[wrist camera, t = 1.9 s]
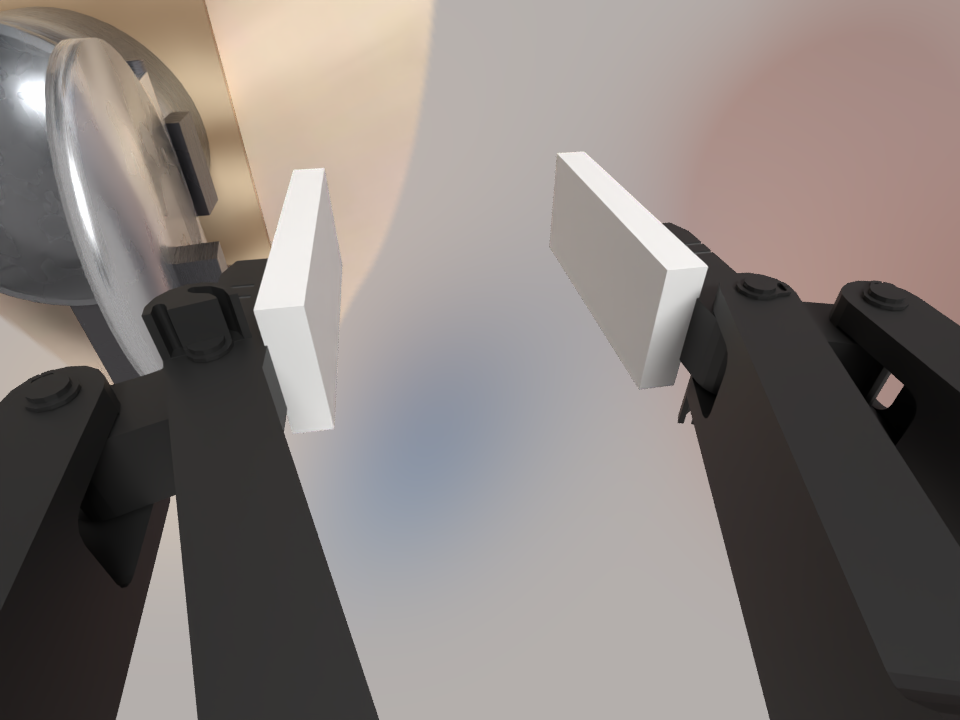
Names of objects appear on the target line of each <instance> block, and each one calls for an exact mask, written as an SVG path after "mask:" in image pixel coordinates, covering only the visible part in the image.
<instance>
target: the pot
mask: <svg viewBox="0 0 960 720" xmlns="http://www.w3.org/2000/svg"><path fill="white" fill-rule="evenodd" d="M73 38H98V39H102V40H104V41H105V42H107V43H108V44H110V45H111V46H112V47H113V48H114V49H115V50H116V51H117V52H118V53H119V54H120V55H121V56H122V57H123V59H124V60H127V59H143V61H144V63H145V66H146V69H147V72H148V75H149V78H150V81H151V84H152V86H153V89H154V92H155V95H156V98H157V101H158V104H159V106H160V109H161V112H162V115H163V118H164V121H165V124H166V126H167V129H168V132H169V135H170V138H171V141H172V144H173V146H174V149H175V152H176V155H177V158H178V161H179V164H180V166H181V169H182V172H183V175H184V178H185V181H186V184H187V186H188V189H189V192H190V195H191V198H192V201H193V204H194V207H195V209H196V212H197V215H198V216H207V215H210V214H211V212H212V210H213V209H214V207H215V205H216V203H217V201H218V197H217V194H216V191H215V187H214V184H213V181H212V178H211V175H210V149H209V142H208V138H207V133H206V129H205V127H204V124H203V121H202V119H201V116H200V114H199V112H198V110H197V108H196V106H195V104H194V102H193V100H192V98H191V97H190V95H189V94H188V92H187V91H186V89H185V88H184V86H183V85H182V84H181V82H180V81H179V80H178V79H177V77H176V76H175V75H174V74H173V72H172V71H171V70H170V69H169V68H168V67H167V66H166V65H165V64H164V63H163V62H162V61H161V60H160V59H159V58H158V57H157V56H156V55H155V54H153V53H152V52H151V51H150V50H149V49H147V48H146V47H145V46H144V45H143V44H141V43H140V42H138V41H137V40H135V39H134V38H132V37H131V36H129V35H128V34H126V33H125V32H123V31H121V30H119V29H117V28H116V27H114V26H112V25H110V24H108V23H106V22H103V21H101V20H99V19H96V18H94V17H92V16H89V15H85V14H82V13H79V12H75V11H72V10H66V9H61V8H55V7H37V6H35V7H25V8H17V9H11V10H6V11H1V12H0V293H3V294H6V295H9V296H12V297H16V298H20V299H24V300H28V301H33V302H39V303H45V304H52V305H67V306H70V307H71V308H72V310H73V312H74V314H75V315H76V317H77V319H78V321H79V322H80V324H81V326H82V328H83V330H84V331H85V333H86V335H87V337H88V338H89V340H90V342H91V344H92V345H93V347H94V349H95V351H96V352H97V354H98V356H99V358H100V360H101V361H102V363H103V365H104V367H105V368H106V370H107V372H108V374H109V375H110V377H111V379H112V381H113V382H114V384H117V383H120V382H123V381H127V380H130V379H134V378H137V377H141V376H140V375H139V374H138V373H137V371H136V370H135V369H134V367H133V366H132V364H131V363H130V361H129V360H128V358H127V357H126V355H125V354H124V352H123V351H122V349H121V347H120V346H119V344H118V342H117V340H116V339H115V337H114V335H113V333H112V332H111V330H110V328H109V326H108V324H107V322H106V320H105V318H104V316H103V314H102V312H101V310H100V308H99V306H98V304H97V301H96V299H95V297H94V294H93V292H92V290H91V287H90V285H89V283H88V280H87V278H86V276H85V273H84V270H83V268H82V265H81V262H80V259H79V257H78V254H77V251H76V248H75V246H74V243H73V240H72V236H71V233H70V230H69V227H68V224H67V220H66V217H65V214H64V211H63V207H62V203H61V199H60V195H59V191H58V187H57V183H56V179H55V174H54V169H53V164H52V159H51V154H50V148H49V141H48V133H47V125H46V115H45V78H46V70H47V66H48V61H49V57H50V55H51V53H52V51H53V49H54V47H55V46H56V45H57V44H58V43H59V42H60V41H61V40H66V39H73Z"/></svg>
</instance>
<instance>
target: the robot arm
mask: <svg viewBox="0 0 960 720" xmlns="http://www.w3.org/2000/svg"><path fill="white" fill-rule="evenodd" d="M549 247H550V248H551V250H552V252H553V253H554V255H555V256H556V258H557V260H558V261H559V263H560V264H561V266H562V267H563V269H564V271H565V272H566V274H567V275H568V277H569V279H570V280H571V282H572V284H573V285H574V287H575V288H576V290H577V292H578V293H579V295H580V296H581V298H582V300H583V301H584V303H585V304H586V306H587V308H588V309H589V311H590V312H591V314H592V315H593V317H594V318H595V320H596V321H597V323H598V325H599V327H600V328H601V330H602V331H603V333H604V334H605V336H606V337H607V339H608V341H609V343H610V344H611V346H612V347H613V349H614V350H615V352H616V354H617V355H618V357H619V358H620V360H621V362H622V363H623V365H624V366H625V368H626V370H627V371H628V373H629V374H630V376H631V377H632V379H633V381H634V382H635V384H636V385H637V387H638V389H648V388H655V387H663V386H670V385H674V383H675V379H676V376H677V372H678V369H679V365H680V362H682V364H683V365H684V366H685V368H686V369H687V370H688V371H689V373H690V374H691V376H690V379H689V383H688V386H687V389H686V393H685V396H684V399H683V402H682V405H681V408H680V412H679V416H678V423H684V420H685V417H686V414H687V413H688V412H690V411H691V415H692V422H691V424H694V426H695V430H696V434H697V438H698V442H699V446H700V449H701V454H702V458H703V462H704V465H705V469H706V473H707V477H708V481H709V485H710V489H711V493H712V496H713V500H714V504H715V508H716V512H717V516H718V520H719V524H720V528H721V531H722V535H723V539H724V543H725V547H726V550H727V555H728V558H729V562H730V566H731V570H732V574H733V578H734V582H735V586H736V589H737V594H738V597H739V601H740V605H741V609H742V613H743V617H744V621H745V625H746V628H747V632H748V636H749V640H750V644H751V648H752V652H753V656H754V659H755V663H756V667H757V671H758V675H759V679H760V683H761V687H762V690H763V695H764V698H765V702H766V706H767V710H768V714H769V718H770V720H960V326H959V325H958V324H956V323H955V322H953V321H952V320H950V319H949V318H948V317H946V316H945V315H943V314H942V313H940V312H939V311H937V310H936V309H935V308H933V307H932V306H930V305H929V304H928V303H926V302H925V301H923V300H922V299H920V298H919V297H917V296H915V295H913V294H912V293H910V292H908V291H906V290H903V289H901V288H898V287H896V286H895V285H893V284H890V283H886V282H883V283H882V282H881V281H855V282H851V283H847V284H846V285H845V286H843V287H842V289H841V291H840V293H839V295H838V297H837V299H836V301H835V303H834V304H825V303H812V302H802V301H801V300H800V298H799V296H798V295H797V293H796V292H795V291H794V290H793V289H792V288H791V287H790V286H789V285H787V284H786V283H784V282H781V281H779V280H777V279H775V278H771V277H768V276H765V275H760V274H753V273H736V272H735V271H734V270H732V268H730V267H729V266H728V265H727V264H726V263H725V262H724V261H722V260H721V259H720V258H719V257H718V256H717V255H715V254H714V253H713V252H712V253H711V252H710V249H709V248H707V247H706V246H705V245H704V244H701V241H699V240H698V239H697V238H696V237H695V236H694V235H693V234H691V233H690V232H689V231H687V230H685V229H683V228H681V227H678V226H676V225H674V224H672V223H661V222H660V221H659V220H658V219H656V218H655V217H654V216H653V215H652V214H651V213H650V212H649V211H648V210H647V209H646V208H645V207H643V206H642V205H641V204H640V203H639V202H638V201H637V200H636V199H635V198H634V197H633V196H632V195H631V194H629V193H628V192H627V191H626V190H625V189H624V188H623V187H622V186H621V185H619V183H618V182H616V181H615V180H614V179H613V178H612V177H611V176H610V175H609V174H608V173H607V172H606V171H604V169H602V168H601V167H600V166H599V165H598V164H597V163H596V162H595V161H594V160H593V159H592V158H590V157H589V156H588V155H587V154H586V153H585V152H569V153H557V160H556V173H555V185H554V197H553V209H552V221H551V233H550V246H549ZM341 282H342V261H341V255H340V250H339V244H338V239H337V233H336V228H335V223H334V217H333V212H332V206H331V201H330V196H329V190H328V185H327V179H326V174H325V168H316V169H300V170H293V173H292V177H291V180H290V184H289V187H288V191H287V194H286V198H285V201H284V205H283V208H282V212H281V215H280V219H279V222H278V226H277V229H276V233H275V236H274V240H273V243H272V247H271V250H270V254H269V257H268V258H265V259H253V260H241V261H236V262H235V263H234V264H232V265H231V266H230V267H229V268H228V269H226V270H225V271H224V272H223V273H222V274H221V276H220V278H219V281H218V283H214V282H201V283H194V284H187V285H184V286H181V287H177V288H174V289H171V290H168V291H166V292H165V293H163V294H161V295H159V296H157V297H155V298H154V299H153V300H152V301H150V302H149V303H148V304H147V305H146V306H145V307H144V310H143V313H142V315H141V317H142V319H143V321H144V323H145V325H146V327H147V329H148V331H149V333H150V335H151V338H152V340H153V342H154V344H155V346H156V348H157V350H158V352H159V354H160V356H161V359H162V361H163V368H162V369H160V370H158V371H155V372H152V373H150V374H147V375H144V376H141V377H137V378H134V379H130V380H127V381H123V382H120V383H117V384H113V385H110V384H109V383H108V381H107V379H106V378H105V376H104V375H103V374H102V373H101V371H100V370H99V369H95V368H92V367H88V366H70V367H65V368H60V369H56V370H50V371H47V372H44V373H42V374H41V375H36V376H34V377H32V378H30V379H28V380H27V381H26V382H24V383H23V384H21V385H19V386H18V387H16V388H15V389H13V390H12V391H11V392H10V393H9V394H8V395H7V396H6V397H5V398H4V399H3V400H2V401H1V402H0V720H116V716H117V712H118V708H119V704H120V700H121V696H122V692H123V688H124V684H125V680H126V676H127V672H128V668H129V664H130V660H131V656H132V652H133V648H134V644H135V640H136V636H137V632H138V628H139V624H140V620H141V616H142V612H143V608H144V604H145V600H146V596H147V592H148V588H149V584H150V580H151V576H152V572H153V568H154V564H155V560H156V555H157V552H158V548H159V544H160V540H161V536H162V532H163V528H164V524H165V520H166V516H167V511H168V507H169V503H170V497H171V496H174V495H176V502H177V512H178V521H179V532H180V542H181V552H182V563H183V573H184V583H185V592H186V603H187V613H188V624H189V634H190V643H191V654H192V665H193V675H194V685H195V694H196V705H197V715H198V720H379V718H378V715H377V712H376V709H375V706H374V703H373V700H372V697H371V694H370V691H369V688H368V685H367V682H366V679H365V676H364V673H363V670H362V667H361V663H360V660H359V658H358V654H357V651H356V648H355V645H354V643H353V639H352V637H351V633H350V631H349V627H348V625H347V621H346V618H345V615H344V613H343V609H342V606H341V604H340V600H339V597H338V594H337V591H336V588H335V585H334V582H333V579H332V576H331V573H330V570H329V567H328V564H327V561H326V558H325V555H324V552H323V549H322V546H321V543H320V540H319V538H318V534H317V531H316V528H315V525H314V522H313V519H312V516H311V513H310V510H309V507H308V504H307V501H306V498H305V495H304V492H303V489H302V486H301V483H300V480H299V477H298V474H297V471H296V468H295V465H294V462H293V459H292V456H291V453H290V450H289V447H288V444H287V441H286V438H285V435H284V427H285V421H286V415H287V417H288V421H289V424H290V427H291V430H292V433H293V434H298V433H305V432H313V431H321V430H328V429H334V424H335V404H336V382H337V363H338V362H337V361H338V343H339V322H340V302H341ZM891 373H892V374H893V375H894V376H895V377H896V378H897V379H898V380H899V381H901V382H902V383H903V384H904V387H903V388H902V390H901V391H900V393H899V394H898V396H897V397H896V399H895V400H894V402H893V403H892V405H891V406H890V407H889V408H886V407H885V406H883V405H882V404H881V403H880V402H878V401H877V399H876V397H877V395H878V394H879V392H880V391H881V389H882V387H883V386H884V384H885V382H886V381H887V379H888V377H889V376H890V374H891Z"/></svg>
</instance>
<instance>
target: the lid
mask: <svg viewBox="0 0 960 720" xmlns="http://www.w3.org/2000/svg"><path fill="white" fill-rule="evenodd" d="M45 115H46V125H47V133H48V141H49V148H50V154H51V159H52V164H53V169H54V174H55V179H56V183H57V187H58V191H59V195H60V199H61V203H62V207H63V211H64V214H65V217H66V220H67V224H68V227H69V230H70V233H71V236H72V240H73V243H74V246H75V248H76V251H77V254H78V257H79V259H80V262H81V265H82V268H83V270H84V273H85V276H86V278H87V280H88V283H89V285H90V287H91V290H92V292H93V294H94V297H95V299H96V301H97V304H98V306H99V308H100V310H101V312H102V314H103V316H104V318H105V320H106V322H107V324H108V326H109V328H110V330H111V332H112V333H113V335H114V337H115V339H116V340H117V342H118V344H119V346H120V347H121V349H122V351H123V352H124V354H125V355H126V357H127V358H128V360H129V361H130V363H131V364H132V366H133V367H134V369H135V370H136V371H137V373H138V374H139V375H140V376H144V375H147V374H150V373H152V372H155V371H158V370H160V369H162V368H163V361H162V359H161V356H160V354H159V352H158V350H157V348H156V346H155V344H154V342H153V340H152V338H151V335H150V333H149V331H148V329H147V327H146V325H145V323H144V321H143V319H142V317H141V315H142V313H143V310H144V307H145V306H146V305H147V304H148V303H149V302H150V301H152V300H153V299H154V298H155V297H157V296H159V295H161V294H163V293H165V292H166V291H168V290H171V289H174V288H177V287H181V286H184V285H187V284H194V283H201V282H214V283H218V281H219V278H220V276H221V274H222V273H223V272H224V271H225V270H226V269H228V266H227V263H226V260H225V257H224V254H223V251H222V248H221V245H220V242H219V241H215V242H208V243H207V241H206V238H205V235H204V232H203V229H202V227H201V224H200V221H199V218H198V215H197V212H196V209H195V207H194V204H193V201H192V198H191V195H190V192H189V189H188V186H187V184H186V181H185V178H184V175H183V172H182V169H181V166H180V164H179V161H178V158H177V155H176V152H175V149H174V146H173V144H172V141H171V138H170V135H169V132H168V129H167V126H166V124H165V121H164V118H163V115H162V112H161V109H160V106H159V104H158V101H157V98H156V95H155V92H154V89H153V86H152V84H151V81H150V78H149V75H148V72H147V69H146V66H145V63H144V61H143V59H127V60H124V59H123V57H122V56H121V55H120V54H119V53H118V52H117V51H116V50H115V49H114V48H113V47H112V46H111V45H110V44H108V43H107V42H105V41H104V40H102V39H98V38H73V39H66V40H61V41H60V42H59V43H58V44H57V45H56V46H55V47H54V49H53V51H52V53H51V55H50V57H49V61H48V66H47V70H46V78H45Z"/></svg>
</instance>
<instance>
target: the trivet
mask: <svg viewBox="0 0 960 720" xmlns="http://www.w3.org/2000/svg"><path fill="white" fill-rule="evenodd" d="M35 6H37V7H55V8H61V9H66V10H72V11H75V12H79V13H82V14H85V15H89V16H92V17H94V18H96V19H99V20H101V21H103V22H106V23H108V24H110V25H112V26H114V27H116V28H117V29H119V30H121V31H123V32H125V33H126V34H128V35H129V36H131V37H132V38H134V39H135V40H137V41H138V42H140V43H141V44H143V45H144V46H145V47H146V48H147V49H149V50H150V51H151V52H152V53H153V54H155V55H156V56H157V57H158V58H159V59H160V60H161V61H162V62H163V63H164V64H165V65H166V66H167V67H168V68H169V69H170V70H171V71H172V72H173V74H174V75H175V76H176V77H177V79H178V80H179V81H180V82H181V84H182V85H183V86H184V88H185V89H186V91H187V92H188V94H189V95H190V97H191V98H192V100H193V102H194V104H195V106H196V108H197V110H198V112H199V114H200V116H201V119H202V121H203V124H204V127H205V129H206V133H207V138H208V142H209V149H210V175H211V178H212V181H213V184H214V187H215V191H216V194H217V197H218V201H217V203H216V205H215V207H214V209H213V210H212V212H211V214H210V215H207V216H198V218H199V221H200V224H201V227H202V229H203V232H204V235H205V238H206V241H207V243H208V242H215V241H219V242H220V245H221V248H222V251H223V254H224V257H225V260H226V263H227V265H232V264H234V263H235V262H236V261H241V260H253V259H265V258H268V257H269V254H270V250H271V244H270V240H269V237H268V233H267V229H266V226H265V222H264V218H263V214H262V211H261V207H260V203H259V200H258V196H257V192H256V189H255V185H254V181H253V177H252V174H251V170H250V166H249V163H248V159H247V155H246V152H245V148H244V144H243V140H242V137H241V133H240V129H239V126H238V122H237V118H236V115H235V111H234V107H233V104H232V100H231V96H230V92H229V89H228V85H227V81H226V78H225V74H224V70H223V67H222V63H221V59H220V55H219V52H218V48H217V44H216V41H215V37H214V33H213V30H212V26H211V22H210V18H209V15H208V11H207V7H206V4H205V0H0V12H1V11H6V10H11V9H17V8H25V7H35Z"/></svg>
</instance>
